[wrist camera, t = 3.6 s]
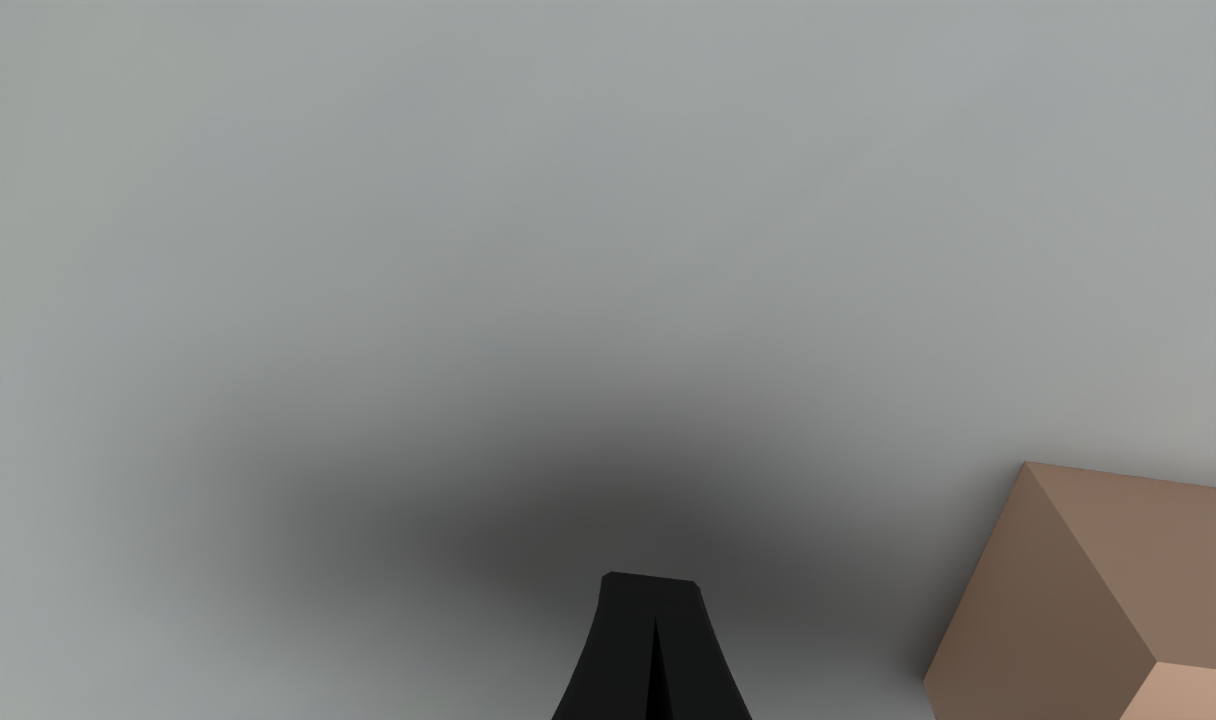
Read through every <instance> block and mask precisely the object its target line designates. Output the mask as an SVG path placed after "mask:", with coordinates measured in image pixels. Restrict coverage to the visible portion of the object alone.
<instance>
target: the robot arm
mask: <svg viewBox="0 0 1216 720" xmlns="http://www.w3.org/2000/svg"><path fill="white" fill-rule="evenodd" d="M551 720H752V718H751V716H750V714H749V712H748V709H747V707H746V705H745V703H744V701H743V699H742V697H741V694H740V692H739V690H738V688H737V686H736V684H735V681H734V679H733V677H732V675H731V672H730V670H729V668H728V666H727V663H726V661H725V658H724V656H723V653H722V651H721V648H720V646H719V643H718V641H717V638H716V636H715V633H714V630H713V628H712V625H711V622H710V620H709V617H708V614H707V611H706V608H705V605H704V602H703V598H702V595H701V591H700V588H699V587H698V586H697V585H696V583H695V582H694V581H686V580H678V579H670V578H661V577H653V576H645V575H636V574H628V573H620V572H609V573H607V574H606V575H604V576H602V581H601V588H600V594H599V601H598V606H597V610H596V614H595V617H594V620H593V624H592V627H591V629H590V632H589V635H588V638H587V641H586V644H585V647H584V649H583V651H582V654H581V656H580V659H579V661H578V663H577V666H576V668H575V671H574V673H573V675H572V678H571V680H570V683H569V685H568V687H567V689H566V691H565V693H564V696H563V698H562V700H561V702H560V704H559V706H558V708H557V710H556V711H555V713H554V715H553V717H552V719H551Z"/></svg>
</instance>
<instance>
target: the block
mask: <svg viewBox="0 0 1216 720" xmlns="http://www.w3.org/2000/svg"><path fill="white" fill-rule="evenodd" d="M923 683H924V686H925V689H926V692H927V695H928V698H929V701H930V704H931V707H932V709H933V712H934V715H935V718H936V720H1216V488H1214V487H1207V486H1200V485H1192V484H1185V483H1178V482H1171V481H1164V480H1156V479H1149V478H1142V477H1135V476H1127V475H1120V474H1113V473H1106V472H1099V471H1091V470H1084V469H1077V468H1070V467H1063V466H1055V465H1048V464H1041V463H1034V462H1026V461H1025V462H1024V465H1023V467H1022V469H1021V471H1020V473H1019V475H1018V478H1017V480H1016V482H1015V484H1014V486H1013V488H1012V491H1011V493H1010V495H1009V497H1008V499H1007V501H1006V503H1005V506H1004V508H1003V510H1002V512H1001V514H1000V516H999V519H998V521H997V523H996V525H995V527H994V529H993V532H992V534H991V536H990V538H989V540H988V542H987V545H986V547H985V549H984V551H983V553H982V555H981V557H980V560H979V562H978V564H977V566H976V568H975V570H974V573H973V575H972V577H971V579H970V581H969V583H968V586H967V588H966V590H965V592H964V594H963V596H962V598H961V601H960V603H959V605H958V607H957V609H956V611H955V614H954V616H953V618H952V620H951V622H950V624H949V627H948V629H947V631H946V633H945V635H944V637H943V640H942V642H941V644H940V646H939V648H938V650H937V652H936V655H935V657H934V659H933V661H932V663H931V665H930V668H929V670H928V672H927V674H926V676H925V678H924V681H923Z"/></svg>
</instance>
